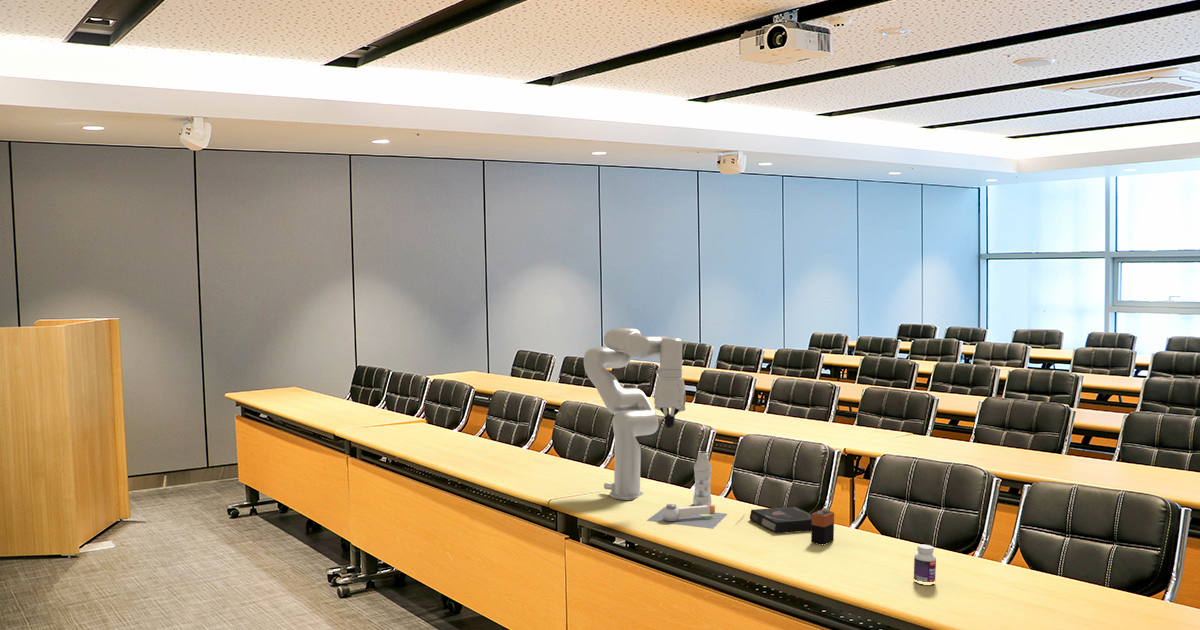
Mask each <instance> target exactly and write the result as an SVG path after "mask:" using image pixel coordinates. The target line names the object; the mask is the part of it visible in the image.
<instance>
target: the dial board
mask: <svg viewBox="0 0 1200 630" xmlns="http://www.w3.org/2000/svg"><path fill="white" fill-rule="evenodd" d="M727 515H728V513H723V512H716V511H715V514H701V515H688V516H679V520H677V521H666V520H664V519H663V508H661V509H660V510H659V511H657V512H656V513H655V514H654V515H652V516H651V517H649V518H648V519H647V520H646V522H655V523H662V524H663V523H664V524H672V525H679V526H688V527H697V528H703V529H704V528H705V529H714V528H715V527H717V526H718V524H719V523H721V522H722V520H724V518H725V517H727Z"/></svg>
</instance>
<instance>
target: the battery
mask: <svg viewBox="0 0 1200 630" xmlns="http://www.w3.org/2000/svg"><path fill="white" fill-rule="evenodd" d="M834 531H835V512H833V511H832V510H831V511H830V509H829V507H823V508H822V509H821V510H817V511H816V512H812V528H811V531H810V532H811V535H810V536H811V538H810V542H811V543H812V544H814V543H817V544H816V545H819V544H823V545H822V546H825V545H827V544H826V543H828V544H829V542H830V543H832V542H834V539H835V538H834V536H835V535H834V534H835V532H834ZM831 541H832V542H831ZM824 544H825V545H824Z"/></svg>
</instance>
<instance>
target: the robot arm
mask: <svg viewBox="0 0 1200 630" xmlns="http://www.w3.org/2000/svg"><path fill="white" fill-rule="evenodd" d="M603 337H604V338H603V342H604V345H605V346H595V347H591V348H589V349H588V350H586V352H585V353H584V356H583V366H584V371H585V374H586V376H587V377H588V379H589V380H590V382H591V383H592V384H593V386H594V387H595V388H596V391H597V392H598V394H599V396H600V398H601V399H602V400H601V401H603V404H604V406H605V407H606V409H607V410H608V411H609V413H611V414H614V416H613V418H612V431H613V436H614V480H613V481H614V482H613V483H609V482H605V483H604V484H603V488H604V490H610V492H609V496H610V498H612V499H614V500H622V501H635V500H636V499H638V498H639V497H641V496H642V495H645V494H644V492H643V491H641V462H642V461H641V459H642V457H641V456H642V455H641V449H642V448H641V445H640V443H639V441H638V440H637V438H636V437H641V436H649V435H653V434H655V433H656V432H657V431H658V430H659V418H658V415H657V413H656V410H658V411H660V412H661V413H662V414H663V415H664V425H665V427H666V428H667V429H668V428H669V429H672V428H674V426H675V423H676V419H675V417H676V415H677V414H678V413H680V412H684V411H686V406H685V405H686V387H685V379H684V378H683V377H682V376H683V372H682V371H683V340H682V339H681V338H678V337H670V336H667V335H657V336H656V335H652V336H651V335H648V336H647V335H645V336H643V335H642V334H641V331H639V330H638V329H637V328H634V327H628V328H626V327H624V328H623V327H622V328H621V327H620V328H619V327H618V328H617V327H616V328H611V329H609V330H608V331H607V332H605V335H604V336H603ZM634 357H635V358H640V359H650V358H651V359H652V358H653V359H654V358H657V359H659V360H660V361H659V369H656V370H655V374H657V375H658V377H657V378H656V382H655V388H654V398H653V399H654V400H653V402H654V403H653V404H654V408H653V406H652V404H651V402H650V401H649V399H648V397H647V395H646V394H645V393H644V391H643V390H641V389H640V388H637V387H623V386H622V385H621V384H620V382H619V380H618V379H617V378H616V376H615V375H614V374H612V373H611V372H610V371H609V370H608V369H621V368H624V367H626V366H628V365H629V363H630V362H631V360H632V359H634ZM670 408H671V409H670ZM654 409H655V410H654Z"/></svg>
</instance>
